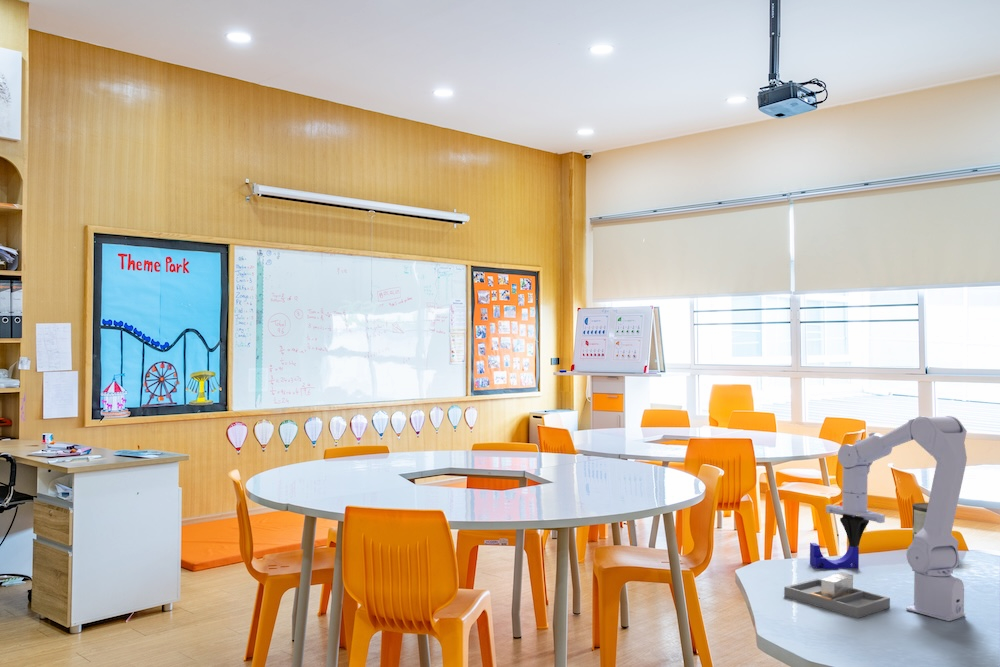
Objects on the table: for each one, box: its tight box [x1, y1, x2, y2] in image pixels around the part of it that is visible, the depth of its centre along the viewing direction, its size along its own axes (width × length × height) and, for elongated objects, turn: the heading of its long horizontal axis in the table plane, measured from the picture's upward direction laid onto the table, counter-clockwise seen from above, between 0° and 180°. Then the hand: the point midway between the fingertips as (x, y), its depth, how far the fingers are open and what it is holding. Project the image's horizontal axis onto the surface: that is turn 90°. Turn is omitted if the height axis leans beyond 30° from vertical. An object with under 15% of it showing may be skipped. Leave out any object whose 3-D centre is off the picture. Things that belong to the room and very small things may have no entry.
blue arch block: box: [809, 542, 860, 570], centre depth 215 cm, size 12×4×6 cm, turn 88°
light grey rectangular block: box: [821, 572, 854, 599], centre depth 184 cm, size 3×10×4 cm, turn 133°
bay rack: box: [783, 578, 891, 619], centre depth 183 cm, size 18×14×2 cm
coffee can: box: [912, 502, 929, 539], centre depth 233 cm, size 10×10×14 cm
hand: (854, 546), depth 199 cm, fingers closed
